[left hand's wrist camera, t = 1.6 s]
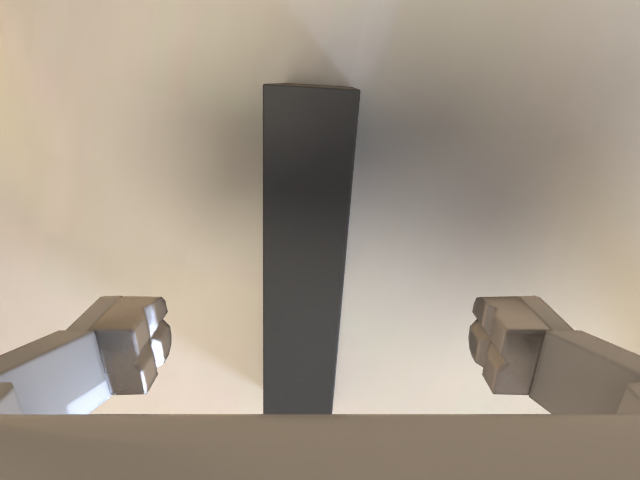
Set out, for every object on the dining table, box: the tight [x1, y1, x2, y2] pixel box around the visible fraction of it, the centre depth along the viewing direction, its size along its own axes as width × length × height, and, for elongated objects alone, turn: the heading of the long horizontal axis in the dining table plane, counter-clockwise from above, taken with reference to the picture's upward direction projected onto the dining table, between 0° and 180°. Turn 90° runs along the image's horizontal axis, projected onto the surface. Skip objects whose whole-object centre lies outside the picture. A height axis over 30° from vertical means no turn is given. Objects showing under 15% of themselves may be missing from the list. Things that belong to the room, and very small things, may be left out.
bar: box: [263, 83, 360, 414], centre depth 27 cm, size 27×5×9 cm, turn 177°
